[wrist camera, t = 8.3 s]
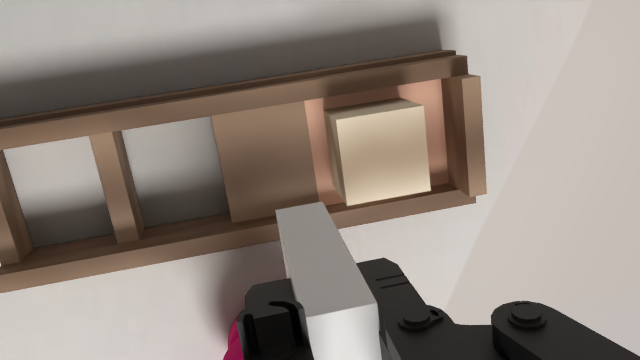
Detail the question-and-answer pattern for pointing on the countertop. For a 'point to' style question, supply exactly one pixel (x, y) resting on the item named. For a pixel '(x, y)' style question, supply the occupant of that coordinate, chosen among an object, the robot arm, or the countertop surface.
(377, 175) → the birch block
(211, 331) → the countertop surface
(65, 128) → the channel
